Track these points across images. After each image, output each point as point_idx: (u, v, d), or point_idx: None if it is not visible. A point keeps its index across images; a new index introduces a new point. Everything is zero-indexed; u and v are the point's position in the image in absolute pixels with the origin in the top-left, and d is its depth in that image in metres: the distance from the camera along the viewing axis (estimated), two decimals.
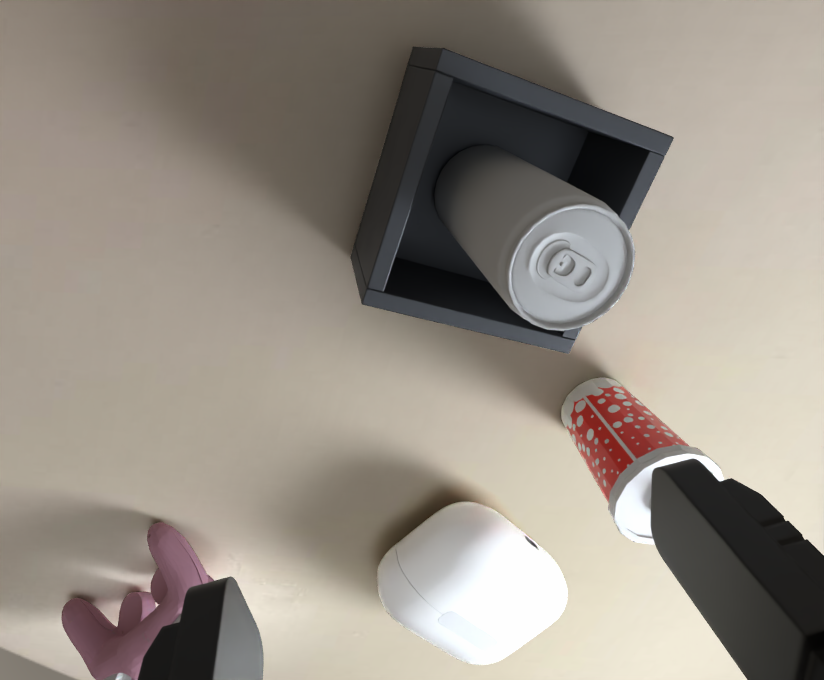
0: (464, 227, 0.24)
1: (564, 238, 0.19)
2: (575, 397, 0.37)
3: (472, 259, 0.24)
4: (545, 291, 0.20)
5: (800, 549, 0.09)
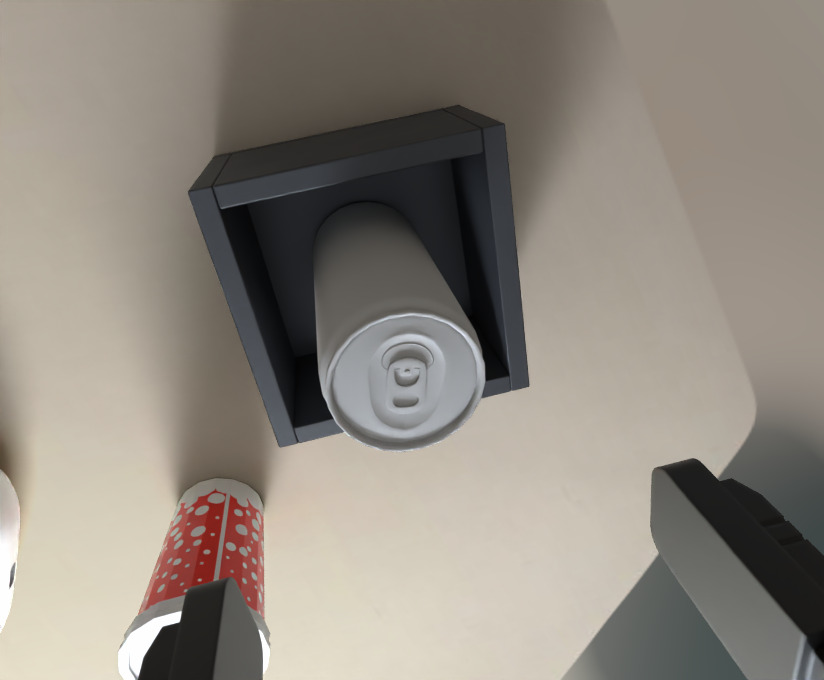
0: (350, 253, 0.20)
1: (434, 354, 0.16)
2: (220, 486, 0.31)
3: (324, 283, 0.20)
4: (368, 376, 0.16)
5: (800, 549, 0.09)
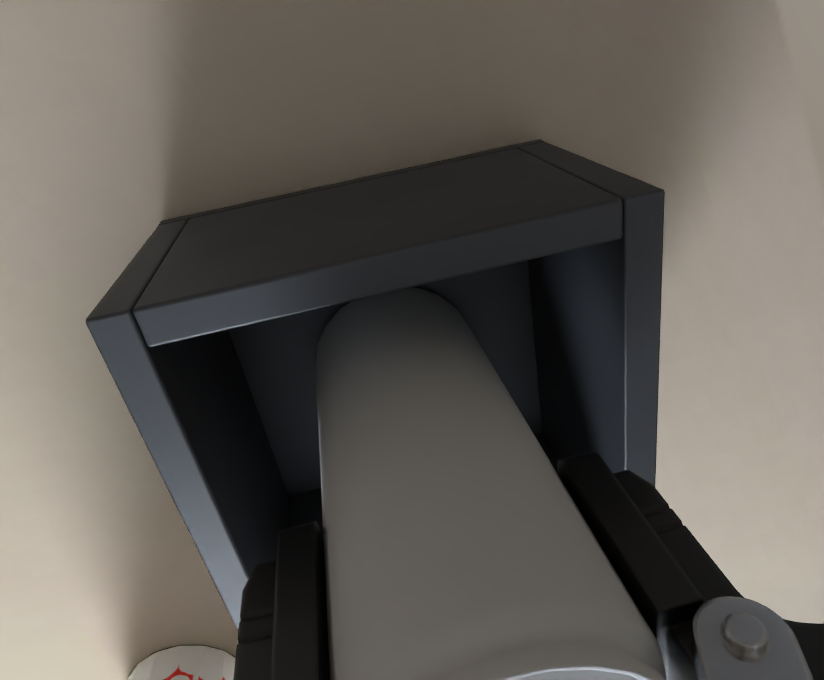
0: (385, 419, 0.11)
1: None
2: (185, 662, 0.22)
3: (339, 474, 0.11)
4: None
5: (677, 534, 0.10)
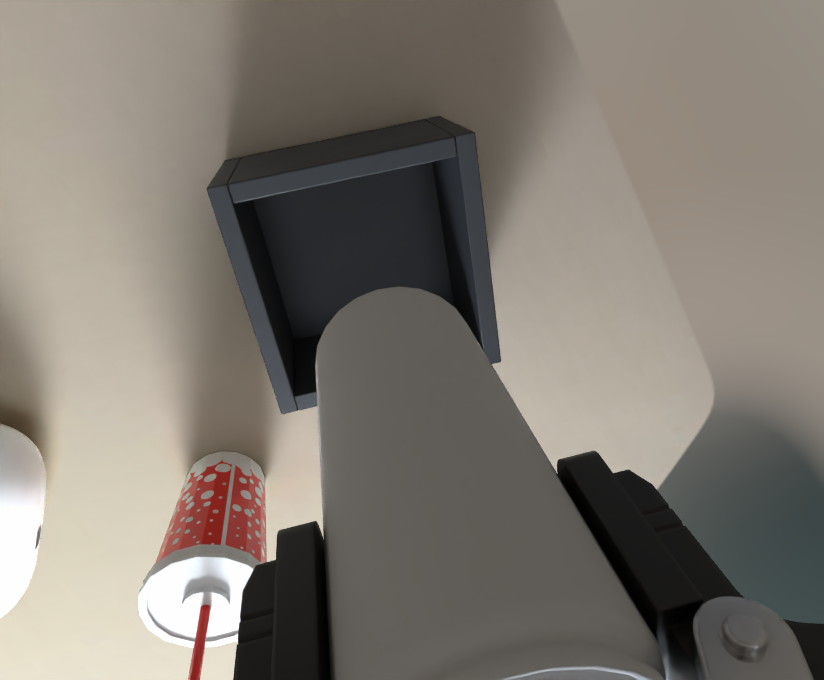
0: (385, 419, 0.11)
1: None
2: (226, 458, 0.34)
3: (339, 475, 0.11)
4: None
5: (677, 534, 0.10)
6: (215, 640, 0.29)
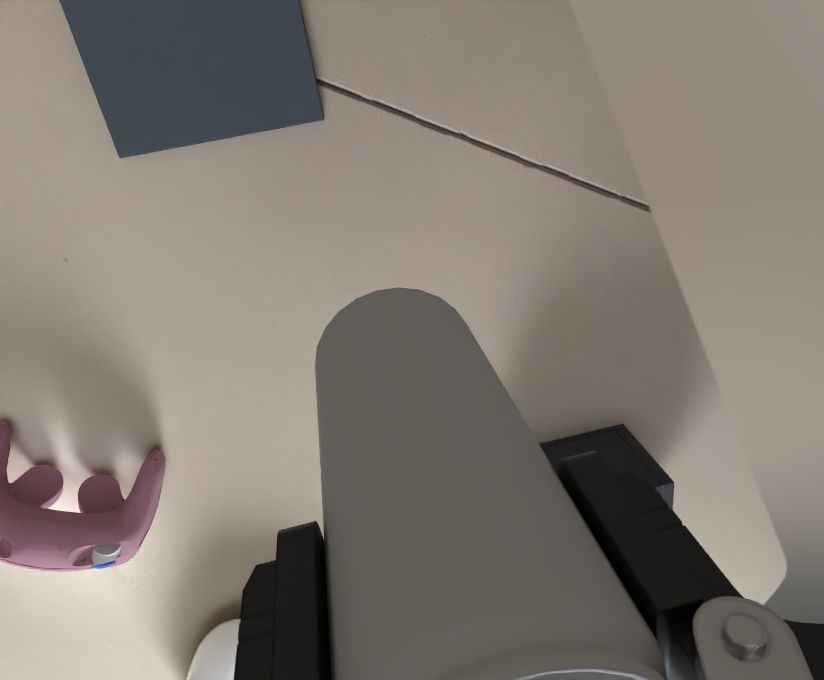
0: (385, 421, 0.11)
1: None
2: None
3: (339, 476, 0.11)
4: None
5: (677, 534, 0.10)
6: None
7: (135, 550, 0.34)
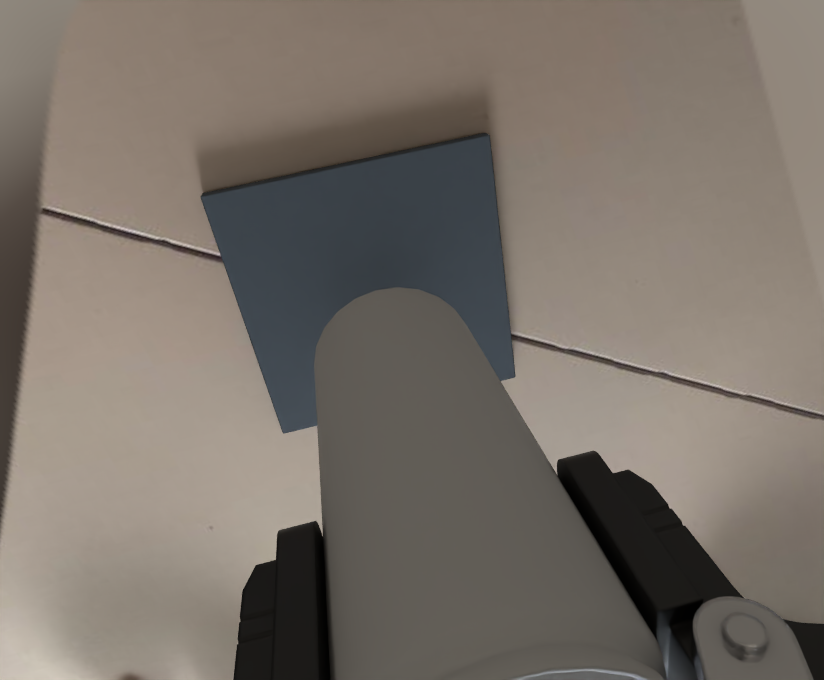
0: (385, 420, 0.11)
1: None
2: None
3: (338, 476, 0.11)
4: None
5: (677, 534, 0.10)
6: None
7: None
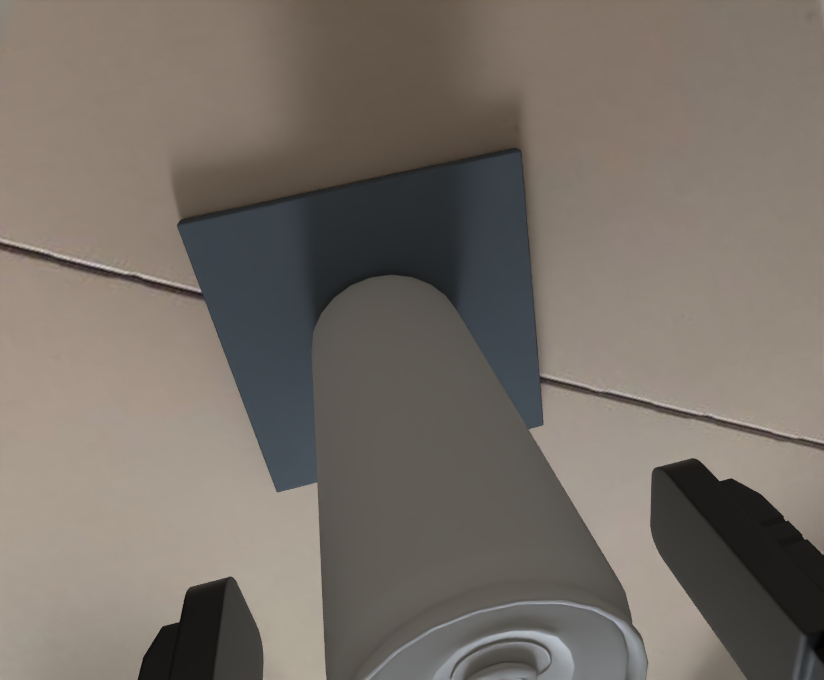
0: (376, 394, 0.12)
1: (554, 653, 0.08)
2: None
3: (333, 445, 0.12)
4: None
5: (800, 549, 0.09)
6: None
7: None
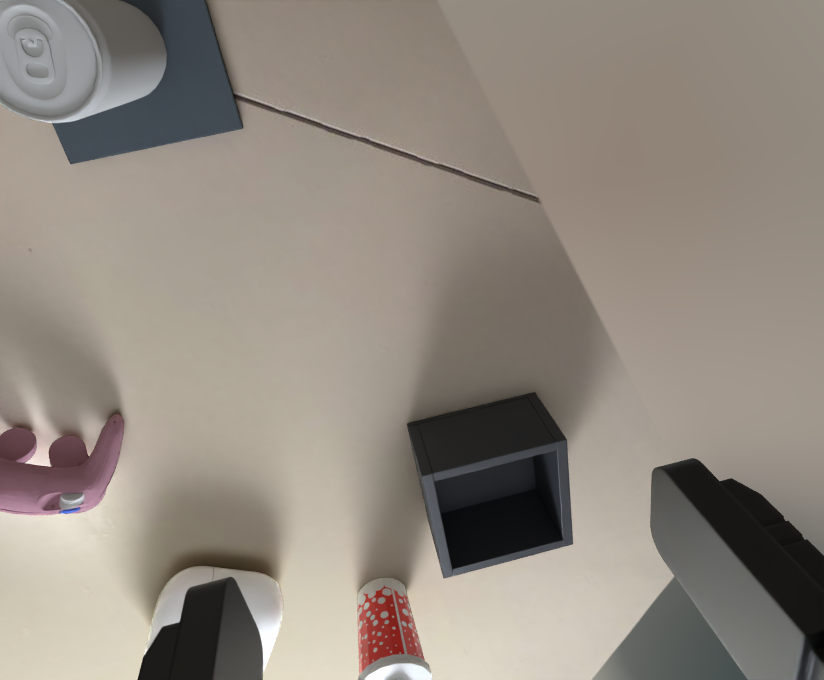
0: None
1: (52, 28, 0.21)
2: (386, 583, 0.53)
3: None
4: None
5: (800, 549, 0.09)
6: None
7: (97, 499, 0.40)
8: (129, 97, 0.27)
